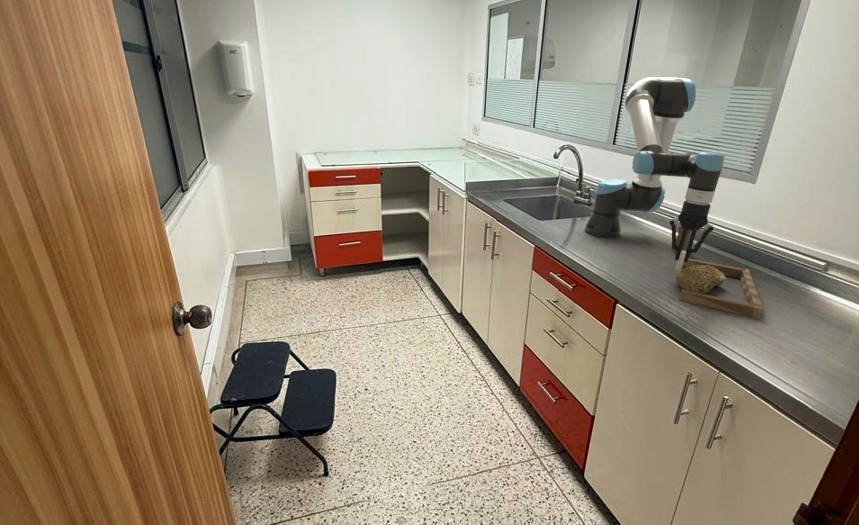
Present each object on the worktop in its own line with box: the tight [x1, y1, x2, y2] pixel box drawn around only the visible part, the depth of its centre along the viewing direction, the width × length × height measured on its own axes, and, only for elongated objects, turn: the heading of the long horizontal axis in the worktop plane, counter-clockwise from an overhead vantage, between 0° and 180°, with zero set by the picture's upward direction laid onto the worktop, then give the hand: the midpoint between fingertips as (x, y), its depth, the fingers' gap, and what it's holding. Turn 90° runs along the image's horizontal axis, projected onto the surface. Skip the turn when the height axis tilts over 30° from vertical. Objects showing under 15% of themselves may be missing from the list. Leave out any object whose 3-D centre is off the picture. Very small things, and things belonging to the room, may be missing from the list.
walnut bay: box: [678, 257, 764, 319], centre depth 145 cm, size 34×21×3 cm, turn 152°
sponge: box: [676, 265, 727, 295], centre depth 144 cm, size 13×8×20 cm
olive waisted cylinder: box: [670, 224, 691, 253], centre depth 176 cm, size 6×6×11 cm
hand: (678, 269), depth 149 cm, fingers closed
